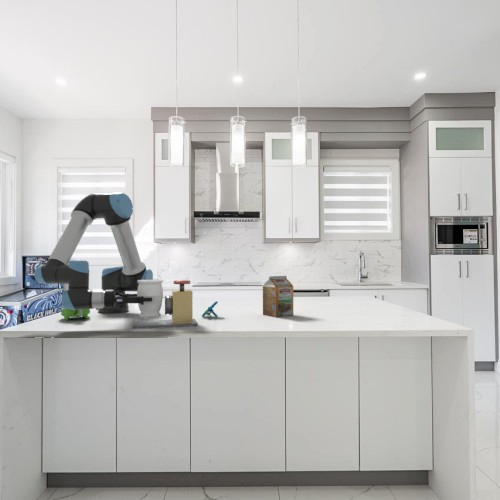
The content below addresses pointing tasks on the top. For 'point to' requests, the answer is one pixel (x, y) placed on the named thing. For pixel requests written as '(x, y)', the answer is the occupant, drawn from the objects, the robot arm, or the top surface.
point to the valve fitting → (173, 310)
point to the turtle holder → (74, 313)
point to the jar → (150, 289)
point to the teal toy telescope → (210, 311)
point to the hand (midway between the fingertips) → (160, 297)
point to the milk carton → (278, 297)
